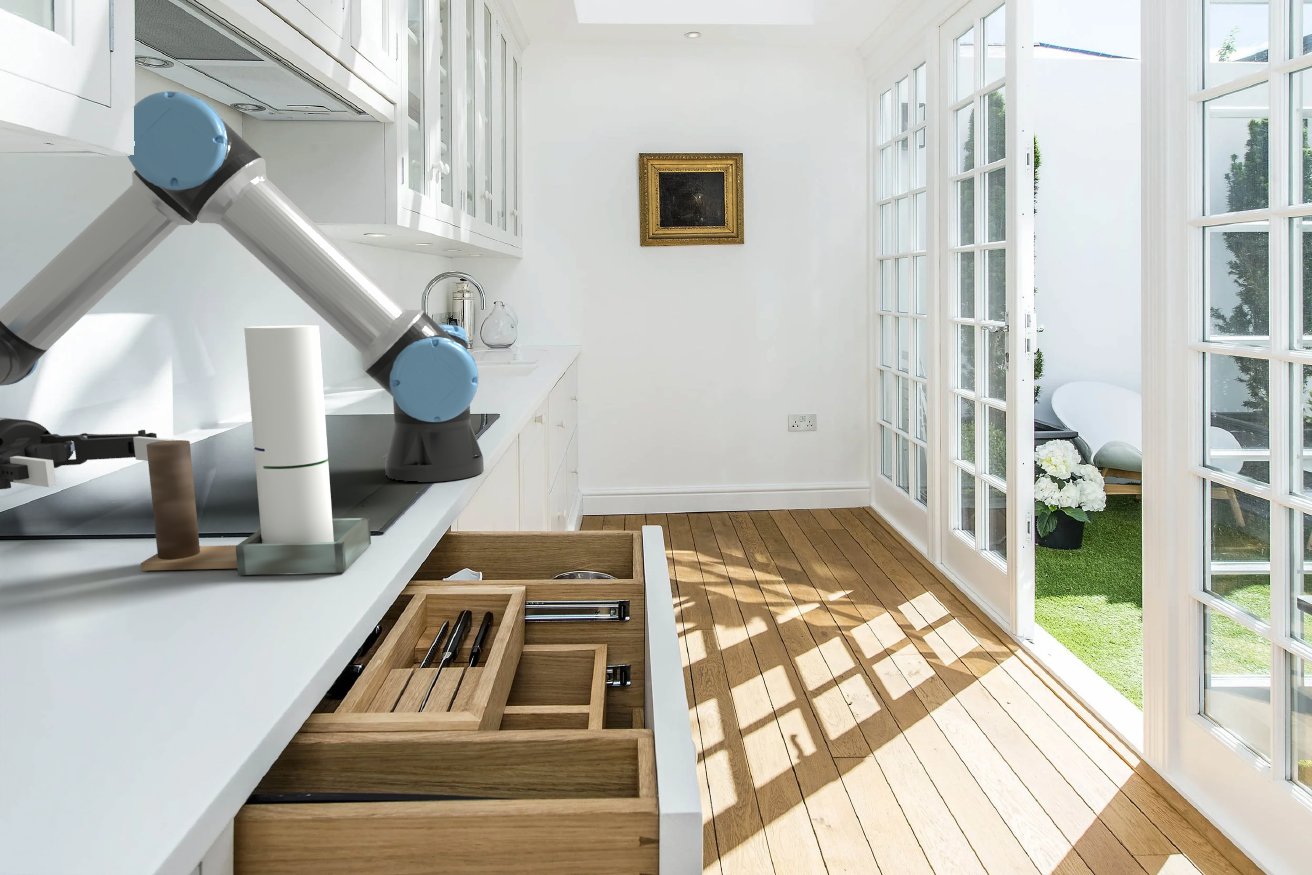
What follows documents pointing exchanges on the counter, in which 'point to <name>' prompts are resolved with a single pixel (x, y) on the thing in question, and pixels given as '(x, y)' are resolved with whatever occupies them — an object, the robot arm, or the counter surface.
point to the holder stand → (250, 556)
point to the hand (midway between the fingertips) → (115, 461)
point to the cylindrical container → (289, 433)
